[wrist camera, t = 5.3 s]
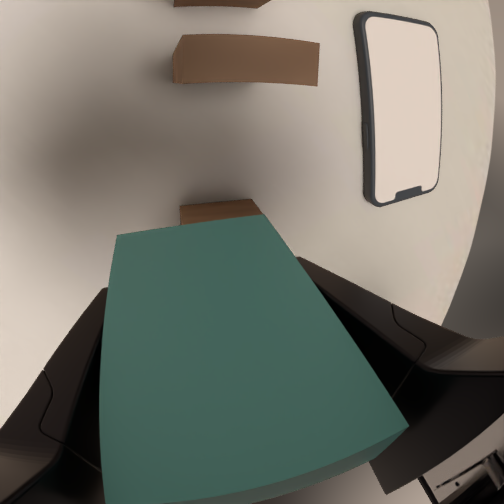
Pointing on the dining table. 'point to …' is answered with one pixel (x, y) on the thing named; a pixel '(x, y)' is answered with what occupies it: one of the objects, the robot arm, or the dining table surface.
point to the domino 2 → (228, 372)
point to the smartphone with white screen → (398, 105)
